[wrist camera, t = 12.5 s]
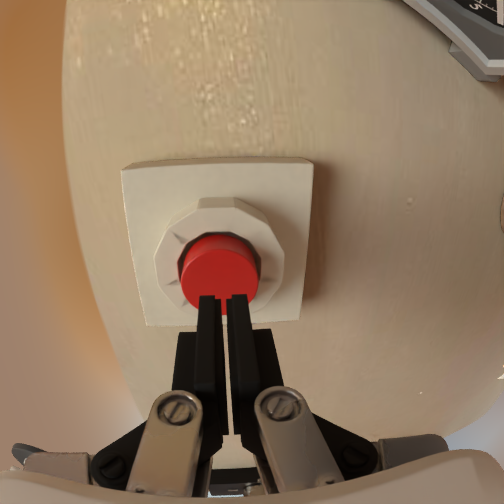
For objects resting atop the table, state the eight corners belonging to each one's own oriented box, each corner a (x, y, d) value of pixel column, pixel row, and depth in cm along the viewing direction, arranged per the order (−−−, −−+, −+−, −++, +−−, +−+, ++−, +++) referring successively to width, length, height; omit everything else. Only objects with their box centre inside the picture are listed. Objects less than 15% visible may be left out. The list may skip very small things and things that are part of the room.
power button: (187, 297, 16) (185, 317, 14) (181, 235, 14) (176, 250, 13) (254, 294, 16) (258, 314, 15) (255, 232, 15) (259, 247, 13)
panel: (211, 484, 36) (212, 498, 34) (205, 466, 32) (205, 482, 30) (299, 477, 37) (302, 490, 35) (307, 457, 34) (311, 472, 31)
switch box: (151, 307, 20) (141, 345, 17) (131, 163, 16) (108, 177, 12) (292, 301, 21) (306, 338, 18) (303, 157, 17) (326, 169, 13)
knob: (242, 485, 31) (246, 517, 27) (274, 482, 32) (280, 513, 27) (243, 493, 33) (246, 522, 29) (272, 490, 34) (277, 519, 29)
